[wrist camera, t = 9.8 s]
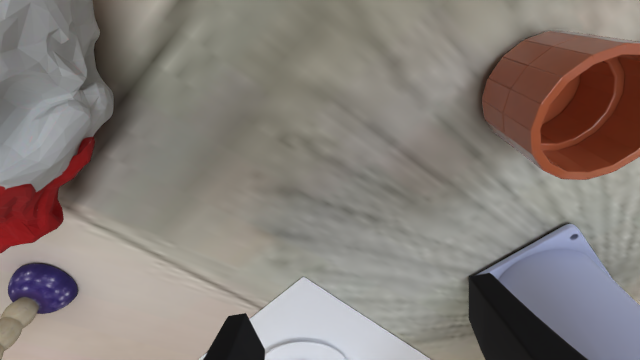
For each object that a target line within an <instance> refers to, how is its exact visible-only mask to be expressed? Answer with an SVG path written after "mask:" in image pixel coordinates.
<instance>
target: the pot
mask: <svg viewBox="0 0 640 360" xmlns="http://www.w3.org/2000/svg"><path fill="white" fill-rule="evenodd" d="M482 105H483V113H484V118H485V121H486V122H487V123H488V125H489V126H490V128H491V129H492V130H493V132H494V133H495V134H497V135H498V136H499V137H501V138H502V139H503V140H504V141H506V142H507V143H508V144H510V145H511V146H512V147H513V148H515V149H516V150H517V151H519V152H520V153H521V154H523V155H524V156H525V157H526V158H528V159H529V160H530V161H532V162H533V163H534V164H535V165H537V166H538V167H539V168H541V169H542V170H543V171H545V172H547V173H550V174H552V175H554V176H556V177H558V178H560V179H578V180H586V179H591V178H594V177H598V176H601V175H605V174H608V173H611V172H614V171H616V170H618V169H620V168H621V167H623V166H625V165H626V164H628V163H630V162H632V161H633V160H635V159H637V158H638V157H640V42H639V41H632V40H625V39H618V38H611V37H603V36H597V35H590V34H583V33H576V32H569V31H549V32H548V31H546V32H544V33H541V34H538V35H535V36H533V37H530V38H527V39H525V40H524V41H521V42H520V43H519V44H518V45H516V46H515V47H514V48H513V49H511V50H510V51H509V52H508V53H506V54H505V55H504V56H503V58H501V60H500V61H499V63H498V64H497V65H496V67H495V68H494V70H493V71H492V73H491V74H490V76H489V78H488V79H487V82H486V86H485V89H484V93H483V96H482Z"/></svg>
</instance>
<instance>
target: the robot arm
mask: <svg viewBox="0 0 640 360" xmlns="http://www.w3.org/2000/svg"><path fill="white" fill-rule="evenodd" d="M469 320H470V323H471V326H472V328H473V331H474V333H475V336H476V338H477V341H478V343H479V346H480V348H481V351H482V353H483V355H484V357H485V359H486V360H640V305H639V304H638V303H637V302H636V301H634V300H633V299H632V298H631V297H630V296H629V295H628V294H627V293H626V292H625V291H624V290H623V289H622V288H621V287H620V286H619V285H618V284H617V283H616V282H615V281H614V280H613V279H612V277H611V276H610V274H609V273H608V271H607V270H606V268H605V267H604V266H603V264H602V263H601V261H600V260H599V258H598V257H597V255H596V254H595V252H594V251H593V249H592V248H591V246H590V245H589V243H588V242H587V241H586V239H585V238H584V236H583V235H582V233H581V232H580V230H579V229H578V228H577V227H576V226H575V225H574V224H567V225H564V226H562V227H561V228H559V229H557V230H555V231H554V232H552V233H550V234H548V235H546V236H545V237H543V238H541V239H539V240H537V241H536V242H534V243H532V244H530V245H529V246H527V247H525V248H523V249H521V250H520V251H518V252H516V253H514V254H513V255H511V256H509V257H507V258H505V259H504V260H502V261H500V262H498V263H496V264H495V265H493V266H491V267H489V268H488V269H486V270H484V271H482V272H480V273H479V274H477V275H473V276H469ZM203 360H265V349H264V347H263V345H262V343H261V341H260V339H259V337H258V335H257V333H256V331H255V330H254V328H253V326H252V324H251V322H250V320H249V318H248V316H247V314H246V313H244V314H238V315H232V316H228V318H227V319H226V321H225V322H224V324H223V326H222V328H221V329H220V331H219V333H218V335H217V336H216V338H215V340H214V342H213V343H212V345H211V347H210V349H209V350H208V352H207V354H206V355H205V357H204V359H203Z"/></svg>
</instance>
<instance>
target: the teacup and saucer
mask: <svg viewBox="0 0 640 360" xmlns="http://www.w3.org/2000/svg"><path fill="white" fill-rule="evenodd" d="M298 358H299V359H312V360H346V358H345V357H344V356H343V355H342V354H341V353H340V352H339V351H338V350H336V349H335V348H333V347H331V346H328V345H326V344H323V343H319V342H313V341H293V342H288V343H284V344H280V345H278V346H275V347H273V348H272V349H270V350H269V351H267V352H266V353H265V360H296V359H298Z"/></svg>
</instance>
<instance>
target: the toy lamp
mask: <svg viewBox="0 0 640 360" xmlns="http://www.w3.org/2000/svg"><path fill="white" fill-rule="evenodd" d="M77 293H78V289H77V285H76V283H75V281H74V280H73V279H72V278H71V277H70V276H69V275H68V274H66V273H65V272H63V271H61V270H60V269H58V268H55V267H53V266H49V265H45V264H28V265H24V266H22V267H20V268H19V269H17V270H16V271H15V273H14V274H13V276H12V277H11V279H10V282H9V285H8V294H9V297H10V299H11V300H12V302H13V303H11V304H10V305H9V306H8V307H7V308H6V309H5V311H4V312H3V314H2V316H1V318H0V360H1V358H2V356H3V353H4V351H5V350H7V349H8V348H9V347H11V346H12V345H13V344H14V343H15V342H16V340H17V339H18V337H19V336H20V334H21V331H22V328H24V327H26V326H27V325H28V324H29V323H30V322H31V321H32V320H33V319H34V317H35V316H36V314H45V313H51V312H54V311H57V310H59V309H61V308H63V307H65V306H66V305H68V304H69V303H70V302H71V301H72V300H73V299H74V298H75V297H76V296H77Z"/></svg>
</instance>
